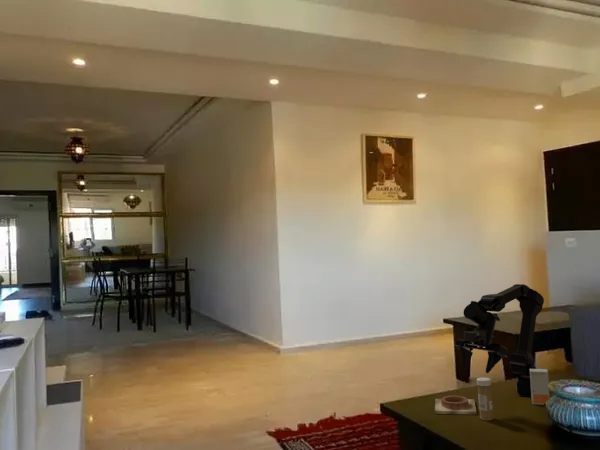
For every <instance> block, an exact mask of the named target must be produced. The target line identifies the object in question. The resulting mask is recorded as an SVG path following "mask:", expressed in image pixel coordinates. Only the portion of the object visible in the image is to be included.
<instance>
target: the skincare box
mask: <svg viewBox="0 0 600 450" xmlns="http://www.w3.org/2000/svg"><path fill="white" fill-rule="evenodd" d="M530 382H531V396H530V397H531V404H532V405H540V406H545V405H544V403H545V402H546V401H547V399H548V398H551V397H550V388H549V389H548V385H549V386H550V383H549V371H548V369H547V368H537V369H530Z"/></svg>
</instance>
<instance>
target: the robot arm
mask: <svg viewBox="0 0 600 450" xmlns="http://www.w3.org/2000/svg"><path fill="white" fill-rule="evenodd" d="M514 300H516V301H517V302H519V308H520V311H521V313H522V314H521V315H522V316H521V321H520V323H521V324H520V330H519V336H518V337H519V338H518V345H517V350H516V351H515V353H511V355H510V361H509V369H510V372H511V376H512V377H513V378H516V379H517V380H515V390H516V393H517V394H518V395H519V397H531V382H530V369H536V368H537V367H536V360H535V358H534V356H533V353H532V351H533V344H534V337H535V328H536V321H537V316H538V315H540V313H541V312H542V309H543V306H544V302H545V299H544V297H543V296H542V294H541V293H540V292H539V291H536V290H535V289H533V288H531V287H529V286H528V285H526V284H522V283H521V284H519V283H516V284H513V285H512V286H510V287H508V288H506V289H504V290H501V291H500V292H498V293H493V294H492V293H491V294H484V295H482V296H481V298H480V299H479V300H478V301H477V300H471V301H470V303H469V304H467V305H466V306H465V307H464V309H463V316H464V317H465V318H466V319H468V320H469V321H471V322H472V323H474V324H476V325H477V327H474V328H473V330H472V331H463V338H457V339H456V340H455V342H454V346H455V347H457V349H458V350H459V351H460V353H461V357H462V366H463V369H465V370H467V368H468V366H469V364H470V362H471V359H472V356H473V350H481V351H486V352H487V357H488V358H487V362H486V367H485V374H489V373H490V372H491V371H492V369H494V367H495V366H496V365H497V364H499V362H500V361H501V360H503V359H504V358H508V356H509V353H510V352H509V349H508V348H507V347H506V346H504V345H502V344H499V343H493V342H492V341H493V340H492V339H493V338H495V337H496V334H495V333H494V331H495V327H496V323H497V322H501V319H500V317H499V315H498V312H499V313H500V312H501V311H503V310H504V309H505V308H506V304H508V303H510V302H513V301H514ZM492 312H493V313H492ZM494 312H495V313H494Z"/></svg>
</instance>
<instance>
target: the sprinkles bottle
mask: <svg viewBox="0 0 600 450" xmlns="http://www.w3.org/2000/svg"><path fill="white" fill-rule="evenodd" d="M476 385H477V396H478V409H479V419H480V420H483V421H487V422H489V421H493V420H494V410H493V409H494V407H493V397H492V395H493V394H492V388H491V387H492V379H491V378H490V377H485V376H484V377H478V378H476Z"/></svg>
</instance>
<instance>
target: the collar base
mask: <svg viewBox="0 0 600 450" xmlns="http://www.w3.org/2000/svg"><path fill="white" fill-rule="evenodd" d="M475 402H476V401H475V399H474V398H473V399H472V398H471V399H469V398H468V397H465V396H461V395H446V396H443V397H441V398H435V403H434V414H439V415H440V414H441V415H442V414H443V415H478V414H477V407H476V403H475Z"/></svg>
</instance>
